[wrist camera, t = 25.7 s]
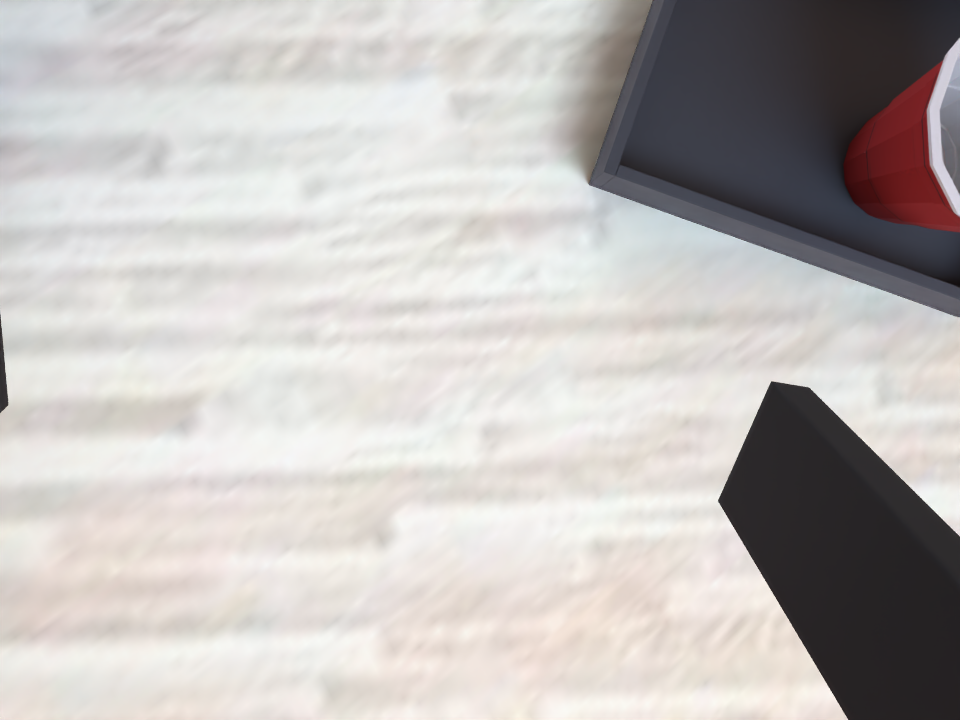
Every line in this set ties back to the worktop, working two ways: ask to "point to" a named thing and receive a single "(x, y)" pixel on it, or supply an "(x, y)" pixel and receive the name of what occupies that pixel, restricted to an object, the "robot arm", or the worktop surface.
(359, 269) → the worktop surface
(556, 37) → the worktop surface
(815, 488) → the robot arm
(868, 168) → the plastic cup
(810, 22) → the dark grey tray
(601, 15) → the worktop surface
